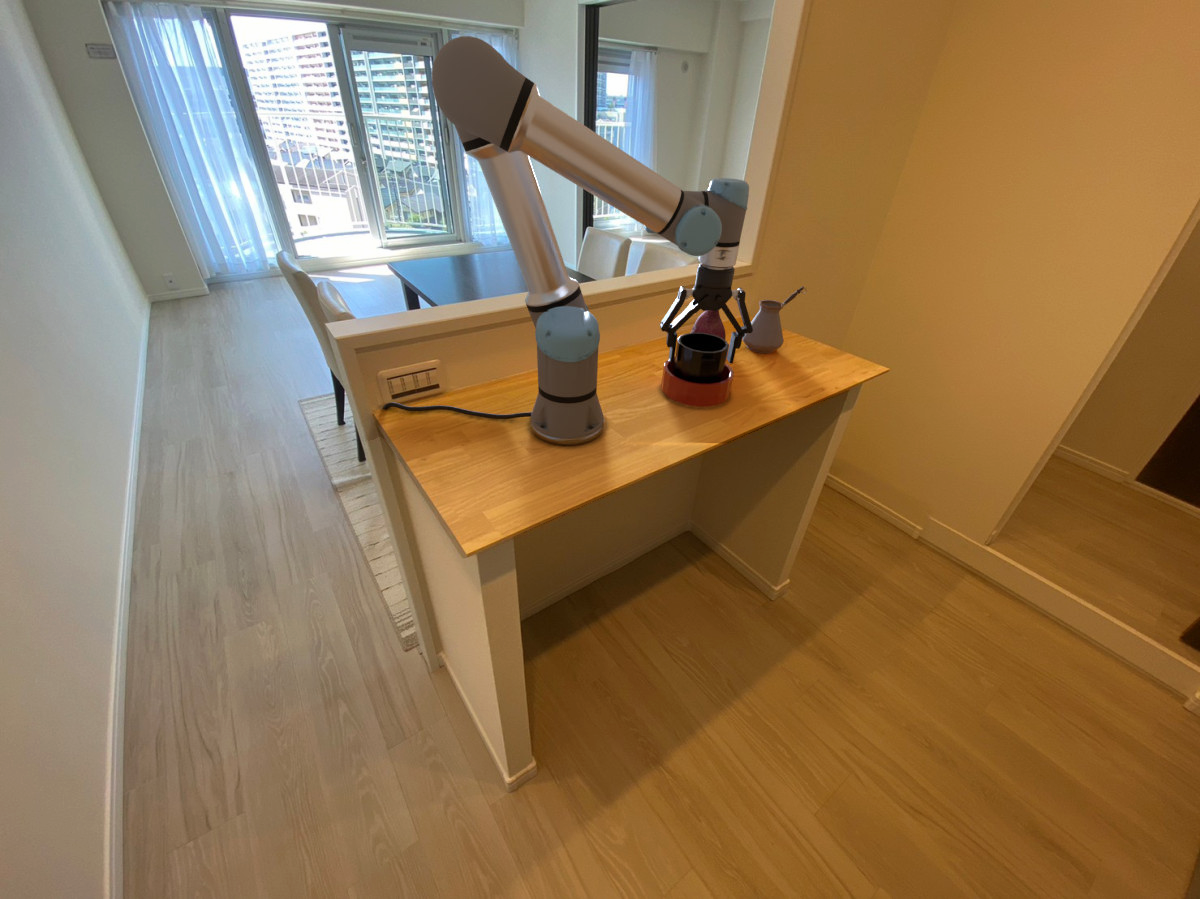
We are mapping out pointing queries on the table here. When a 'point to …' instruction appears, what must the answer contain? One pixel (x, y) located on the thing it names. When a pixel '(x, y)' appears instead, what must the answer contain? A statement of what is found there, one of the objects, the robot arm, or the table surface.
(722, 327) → the vegetable
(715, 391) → the casserole
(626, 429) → the table surface
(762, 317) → the coffee pot
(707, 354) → the black cylindrical cup
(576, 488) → the table surface
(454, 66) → the robot arm
